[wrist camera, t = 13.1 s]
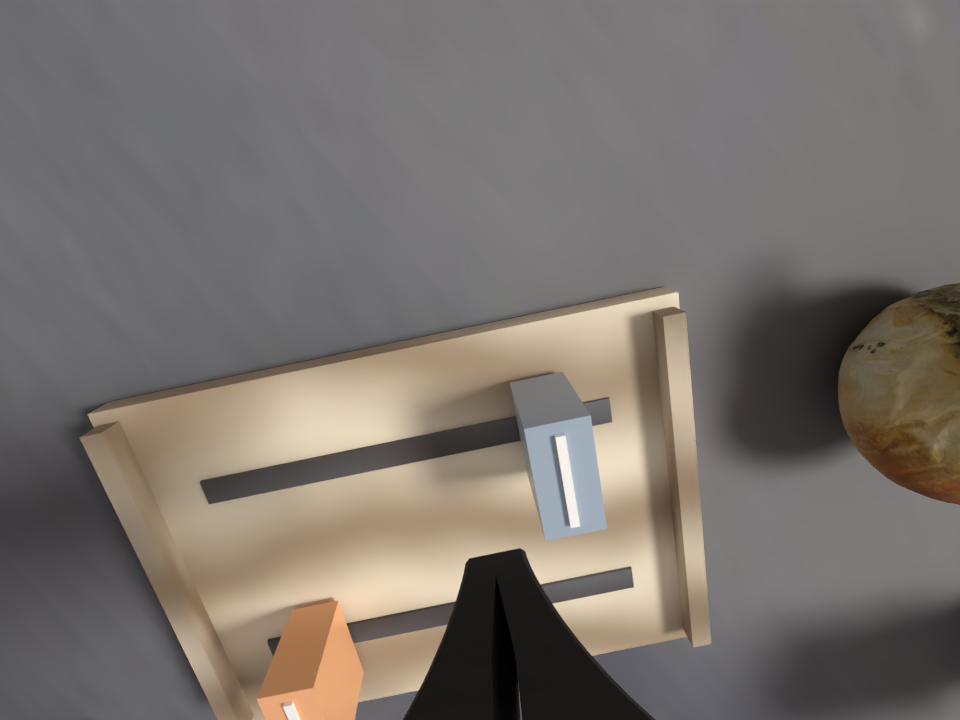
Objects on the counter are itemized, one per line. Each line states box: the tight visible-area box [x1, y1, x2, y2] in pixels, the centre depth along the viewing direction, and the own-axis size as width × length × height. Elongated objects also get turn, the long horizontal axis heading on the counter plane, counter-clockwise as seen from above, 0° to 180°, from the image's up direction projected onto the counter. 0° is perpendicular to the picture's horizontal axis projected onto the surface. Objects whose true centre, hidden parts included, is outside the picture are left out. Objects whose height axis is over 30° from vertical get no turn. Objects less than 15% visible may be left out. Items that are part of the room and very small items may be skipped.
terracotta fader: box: [257, 601, 364, 720], centre depth 20 cm, size 4×2×4 cm, turn 11°
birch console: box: [79, 287, 711, 720], centre depth 21 cm, size 16×22×2 cm
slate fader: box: [510, 372, 607, 541], centre depth 17 cm, size 4×2×4 cm, turn 11°
